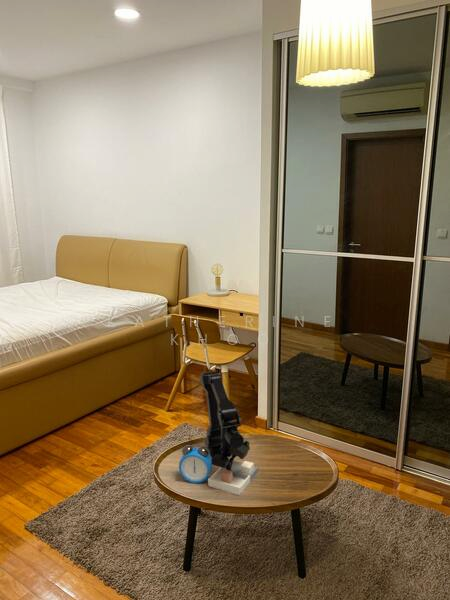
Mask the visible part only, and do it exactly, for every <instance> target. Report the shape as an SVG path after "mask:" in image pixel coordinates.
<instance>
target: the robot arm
mask: <svg viewBox="0 0 450 600" xmlns="http://www.w3.org/2000/svg"><path fill="white" fill-rule="evenodd" d="M199 382H200V384H201V385H200V386H201V388H202V389H203V390H204V391H205V394H206V396H205V397H206V404H207V412H208V413H207V414H208V422H209V425H208V427H207V429H206V436H205V437H204V439H203V440H204V446H205V447H207V448H208V449H209V454H210V456H211V457H212V459H211V464H212V465H213V466H215V467H219V468H220V467H222V468H226V469H227V470H229V471H231V468H232V464H233V461H234V460H235V458H239V459H240V460H244V459H245V458H246V456H248V452H249V451H250V450H251V447H250V441H249V440H245V439H244V437H243V436H242V434H241V433H240V431H239V430H238V427H241V426H242V424H241V423H242V419H241V416H240V413H239V410H238V409H237V408H236V405H235V403H233V402H232V401H231V400H230V399H229V398H228V394H227V392H226V389H225V387H224V384H223V381H222V375H221V373H220V372H217V371H216V370H212V371H204V372H201V375H199Z"/></svg>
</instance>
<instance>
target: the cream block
mask: <svg viewBox="0 0 450 600" xmlns="http://www.w3.org/2000/svg"><path fill="white" fill-rule="evenodd" d="M254 466H255V463H254V462H252V461H251V462H250V461H247V460H244V461H243V462H242V465H241V471H242V472H245V473H249V474H250V473H251V472H252V470H253V469H254Z"/></svg>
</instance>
